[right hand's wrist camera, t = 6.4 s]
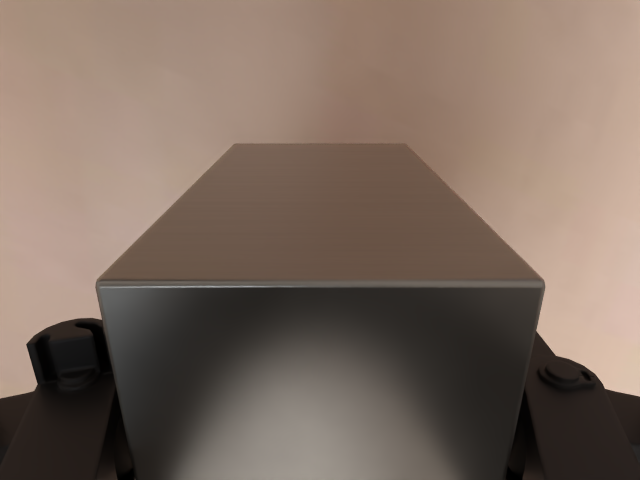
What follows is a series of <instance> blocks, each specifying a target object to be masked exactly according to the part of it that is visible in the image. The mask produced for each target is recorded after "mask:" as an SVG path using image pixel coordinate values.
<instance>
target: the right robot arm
mask: <svg viewBox="0 0 640 480" xmlns="http://www.w3.org/2000/svg"><path fill="white" fill-rule="evenodd" d="M26 345H27V348H28V352H29V355H30V359H31V362H32V366H33V369H34V373H35V376H36V380H37V383H38V385H37V387H36V389H35V391H33V392H29V393H26V394H21V395H16V396H11V397H6V398H1V399H0V480H135V475H134V471H133V466H132V461H131V456H130V451H129V446H128V442H127V437H126V432H125V427H124V422H123V417H122V413H121V408H120V403H119V398H118V393H117V388H116V384H115V379H114V374H113V369H112V364H111V359H110V355H109V350H108V345H107V340H106V335H105V330H104V326H103V321H102V320H99V319H94V318H81V319H74V320H69V321H64V322H61V323H58V324H56V325H53V326H50V327H48V328H46V329H44V330H43V331H41V332H39V333H38V334H36V335H34V336H33V338H32V339H31V340H30V341H29V342H28V343H27V344H26ZM505 480H640V397H639V396H634V395H629V394H624V393H619V392H615V391H611V390H607V389H605V388H604V386H603V384H602V382H601V381H600V380H599V379H598V377H597V376H596V375H595V374H594V373H593V372H591V371H590V370H589V369H587V368H586V367H585V366H583V365H581V364H579V363H576V362H574V361H572V360H570V359H566V358H562V357H558V356H556V355H555V354H554V353H553V352H552V350H551V349H550V348H549V347H548V345H547V344H546V343H545V342H544V340H543V339H542V338H541V337H540V335H539V334H538V333H537V331H536V334H535V339H534V344H533V348H532V353H531V358H530V363H529V368H528V372H527V377H526V382H525V387H524V392H523V396H522V401H521V406H520V411H519V416H518V420H517V425H516V430H515V435H514V440H513V444H512V449H511V454H510V459H509V464H508V468H507V473H506V478H505Z"/></svg>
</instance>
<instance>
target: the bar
mask: <svg viewBox="0 0 640 480" xmlns="http://www.w3.org/2000/svg"><path fill="white" fill-rule="evenodd" d="M544 291H545V283H544V280H543V279H542V278H541V277H540V276H539V275H538V274H537V273H536V272H535V271H534V270H533V269H532V268H531V267H530V266H529V265H528V264H527V263H526V262H525V261H524V260H523V259H522V258H521V257H520V256H519V255H518V254H517V253H516V252H515V251H514V250H513V249H512V248H511V247H510V246H509V245H508V244H507V243H506V242H505V241H504V240H503V239H502V238H501V237H500V236H499V235H498V234H497V233H496V232H495V231H494V230H493V229H492V228H491V227H490V226H489V225H488V224H487V223H486V222H485V221H484V220H483V219H482V218H481V217H480V216H479V215H478V214H476V213H475V212H474V211H473V210H472V209H471V208H470V207H469V206H468V205H467V204H466V203H465V202H464V201H463V200H462V199H461V198H460V197H459V196H458V195H457V194H456V193H455V192H454V191H453V190H452V189H451V188H450V187H449V186H448V185H447V184H446V183H445V182H444V181H443V180H442V179H441V178H440V177H439V176H438V175H437V174H436V173H435V172H434V171H433V170H432V169H431V168H430V167H429V166H428V165H427V164H426V163H425V162H424V161H423V160H422V159H421V158H420V157H419V156H418V155H417V154H416V153H415V152H414V151H413V150H412V149H411V148H410V147H408V146H407V145H406V144H234V145H233V146H232V147H231V148H230V149H229V150H228V151H227V152H226V153H225V154H224V155H223V156H222V157H221V158H220V159H219V160H218V161H217V162H216V163H215V164H214V165H213V166H212V167H211V168H210V169H209V170H207V171H206V172H205V173H204V174H203V175H202V176H201V177H200V178H199V179H198V180H197V181H196V182H195V183H194V184H193V185H192V186H191V187H190V188H189V189H188V190H187V191H186V192H185V193H184V194H183V195H182V196H181V197H180V198H179V199H178V200H177V201H176V202H175V203H174V204H173V205H172V206H171V207H170V208H169V209H168V210H167V211H166V212H165V213H164V214H163V215H162V216H161V217H160V218H159V219H158V220H157V221H156V222H155V223H154V224H153V225H152V226H151V227H150V228H149V229H148V230H147V231H146V232H145V233H144V234H143V235H142V236H141V237H140V238H139V239H138V240H137V241H136V242H135V243H134V244H133V245H132V246H131V247H130V248H129V249H128V250H127V251H126V252H125V253H123V254H122V255H121V256H120V257H119V258H118V259H117V260H116V261H115V262H114V263H113V264H112V265H111V266H110V267H109V268H108V269H107V270H106V271H105V272H104V273H103V274H102V275H101V276H100V277H99V278H98V279H97V282H96V292H97V297H98V302H99V306H100V311H101V316H102V321H103V326H104V330H105V335H106V340H107V345H108V350H109V355H110V359H111V364H112V369H113V374H114V379H115V384H116V388H117V393H118V398H119V403H120V408H121V413H122V417H123V422H124V427H125V432H126V437H127V442H128V446H129V451H130V456H131V461H132V466H133V471H134V475H135V480H505V478H506V473H507V468H508V464H509V459H510V454H511V449H512V444H513V440H514V435H515V430H516V425H517V420H518V416H519V411H520V406H521V401H522V396H523V392H524V387H525V382H526V377H527V372H528V368H529V363H530V358H531V353H532V348H533V344H534V339H535V334H536V329H537V324H538V320H539V315H540V310H541V305H542V300H543V295H544Z"/></svg>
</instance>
